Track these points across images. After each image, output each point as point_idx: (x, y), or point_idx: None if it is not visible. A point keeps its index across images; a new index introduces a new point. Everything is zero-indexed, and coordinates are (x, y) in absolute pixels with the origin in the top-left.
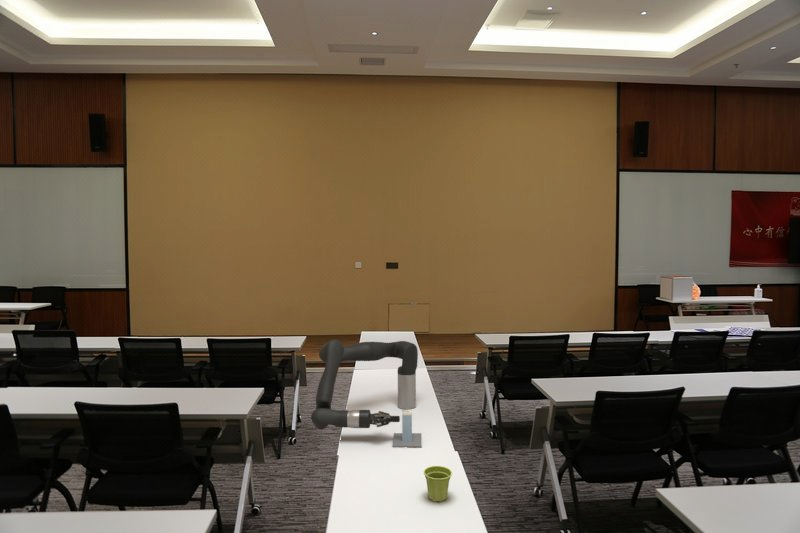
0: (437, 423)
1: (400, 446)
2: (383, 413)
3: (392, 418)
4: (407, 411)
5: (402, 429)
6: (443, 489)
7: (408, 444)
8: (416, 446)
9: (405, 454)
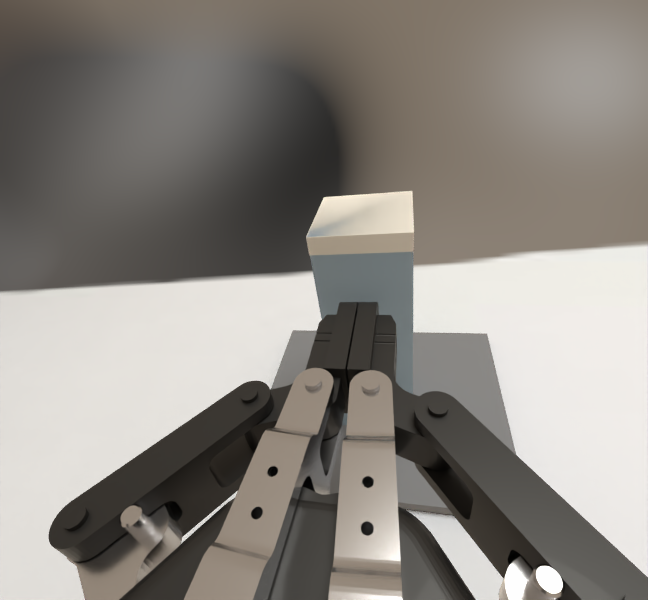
0: (186, 283)
1: (514, 450)
2: (190, 462)
3: (392, 362)
4: (356, 210)
5: (412, 364)
6: None
7: (468, 395)
8: (491, 356)
9: (639, 428)
